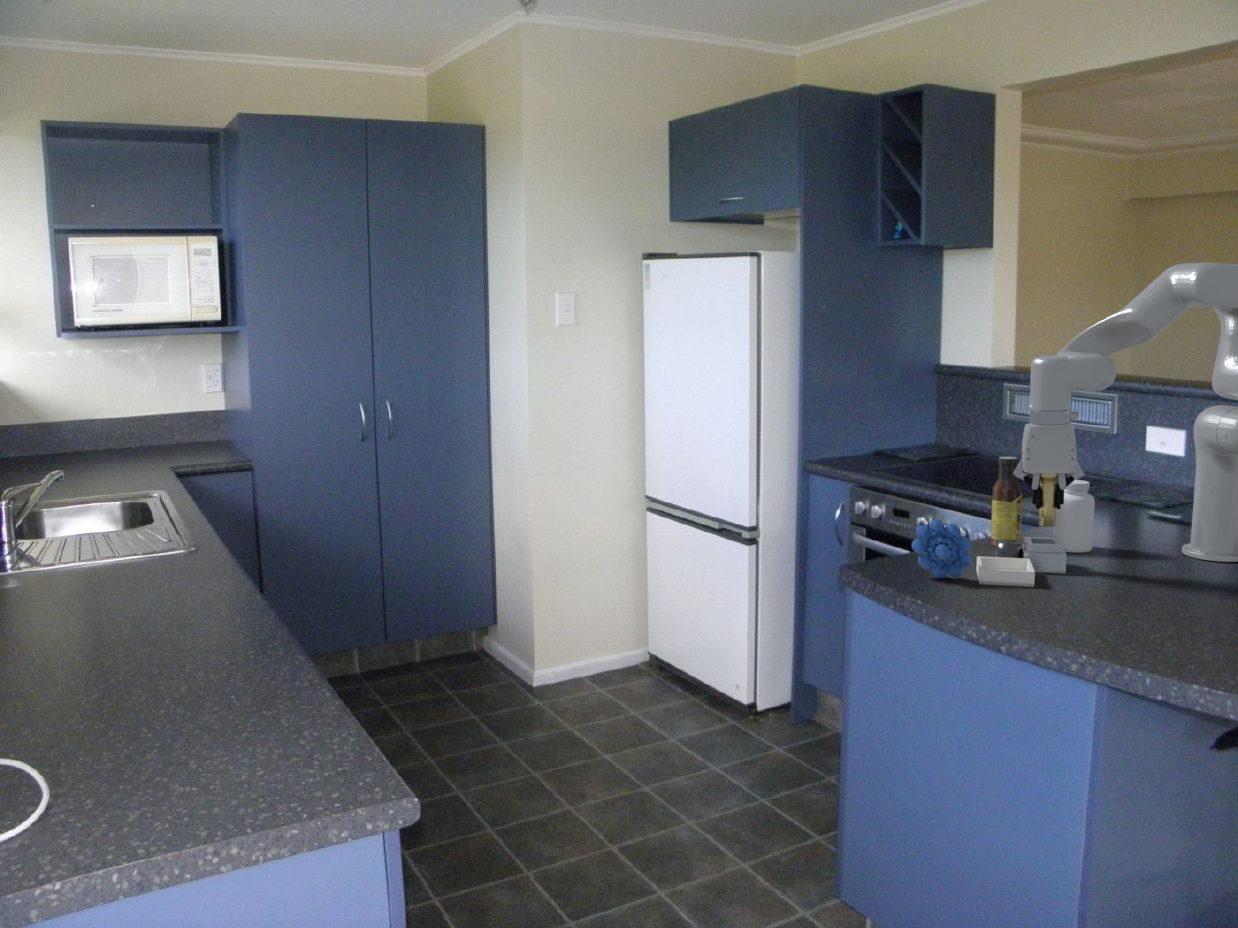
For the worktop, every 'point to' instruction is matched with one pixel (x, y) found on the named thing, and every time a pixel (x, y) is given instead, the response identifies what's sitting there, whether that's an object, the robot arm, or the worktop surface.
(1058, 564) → the tensioner block
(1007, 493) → the sauce bottle
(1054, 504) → the pin
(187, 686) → the worktop surface
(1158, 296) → the robot arm
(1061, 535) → the pill bottle
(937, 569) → the blue flower
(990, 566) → the tray
